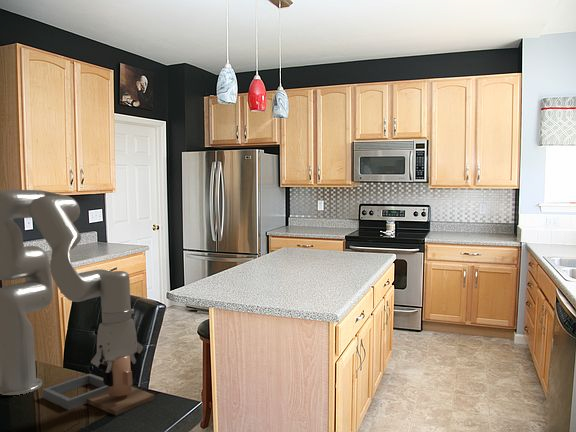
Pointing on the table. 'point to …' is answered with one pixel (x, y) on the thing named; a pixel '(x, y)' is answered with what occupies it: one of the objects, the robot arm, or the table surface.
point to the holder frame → (55, 391)
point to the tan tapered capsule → (121, 377)
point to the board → (120, 401)
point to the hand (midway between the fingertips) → (119, 380)
